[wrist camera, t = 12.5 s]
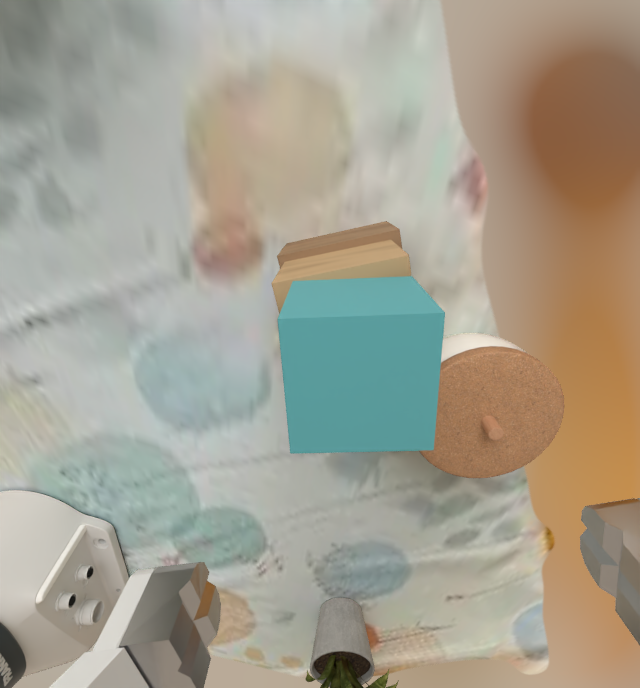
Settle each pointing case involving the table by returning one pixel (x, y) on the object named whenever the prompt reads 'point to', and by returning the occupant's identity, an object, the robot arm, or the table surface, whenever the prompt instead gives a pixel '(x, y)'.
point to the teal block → (360, 365)
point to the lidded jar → (492, 407)
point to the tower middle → (343, 266)
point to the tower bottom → (340, 241)
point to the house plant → (343, 648)
